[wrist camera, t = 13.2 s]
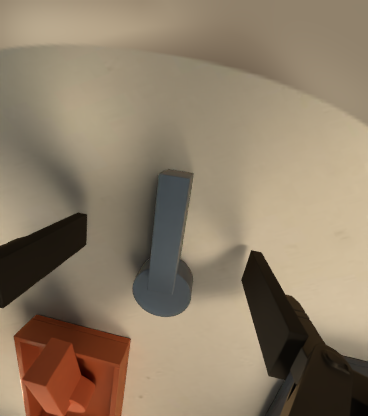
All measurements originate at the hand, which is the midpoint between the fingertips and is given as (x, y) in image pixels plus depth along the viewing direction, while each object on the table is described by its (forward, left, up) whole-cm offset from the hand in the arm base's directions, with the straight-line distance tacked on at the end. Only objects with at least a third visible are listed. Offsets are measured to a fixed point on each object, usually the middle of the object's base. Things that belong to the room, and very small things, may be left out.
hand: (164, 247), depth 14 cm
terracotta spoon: (+17, -8, 0) cm, 19 cm away
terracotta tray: (+22, -8, -2) cm, 23 cm away
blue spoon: (+1, 0, -2) cm, 2 cm away
